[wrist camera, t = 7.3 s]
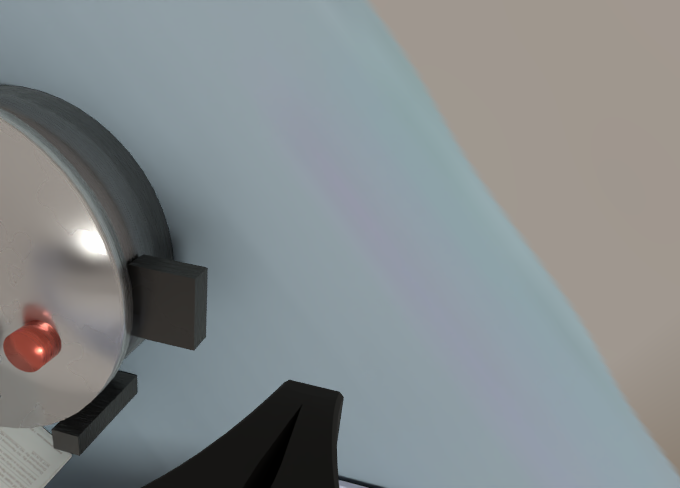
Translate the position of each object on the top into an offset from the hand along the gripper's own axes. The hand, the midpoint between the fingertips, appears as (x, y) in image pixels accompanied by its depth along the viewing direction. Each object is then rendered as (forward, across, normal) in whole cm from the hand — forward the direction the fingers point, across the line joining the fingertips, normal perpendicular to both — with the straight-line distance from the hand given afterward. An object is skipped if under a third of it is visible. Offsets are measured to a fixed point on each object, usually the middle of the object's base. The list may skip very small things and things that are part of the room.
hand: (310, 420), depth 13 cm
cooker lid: (+6, +15, +2) cm, 16 cm away
